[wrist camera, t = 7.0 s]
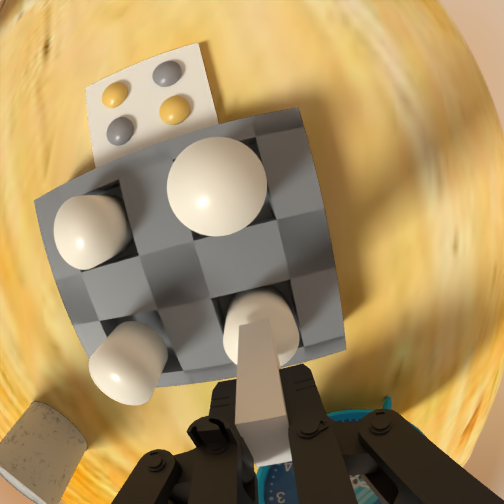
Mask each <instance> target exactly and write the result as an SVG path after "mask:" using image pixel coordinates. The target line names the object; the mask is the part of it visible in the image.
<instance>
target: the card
mask: <svg viewBox="0 0 504 504" xmlns="http://www.w3.org/2000/svg"><path fill="white" fill-rule="evenodd" d="M85 91H86V104H87V114H88V123H89V131H90V138H91V145H92V151H93V157H94V163H95V168H97V167H100V166H102V165H104V164H106V163H109V162H111V161H113V160H116V159H118V158H120V157H123V156H125V155H128V154H130V153H133V152H135V151H138V150H141V149H143V148H146V147H148V146H151V145H154V144H157V143H160V142H162V141H165V140H168V139H171V138H174V137H177V136H180V135H184V134H187V133H190V132H193V131H197V130H200V129H203V128H207V127H211V126H214V125H218V124H219V122H218V118H217V114H216V110H215V106H214V102H213V98H212V94H211V90H210V86H209V82H208V79H207V75H206V71H205V67H204V63H203V59H202V55H201V51H200V47H199V44H198V43H195V44H191V45H188V46H185V47H181V48H178V49H175V50H172V51H169V52H166V53H163V54H160V55H157V56H155V57H152V58H149V59H147V60H144V61H142V62H139V63H137V64H134V65H132V66H130V67H127V68H125V69H123V70H121V71H119V72H116V73H114V74H112V75H110V76H108V77H106V78H104V79H102V80H100V81H98V82H96V83H94V84H92V85H91V86H89V87H87V88H85Z"/></svg>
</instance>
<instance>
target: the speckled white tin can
mask: <svg viewBox="0 0 504 504" xmlns="http://www.w3.org/2000/svg"><path fill="white" fill-rule="evenodd" d="M86 450H87V442H86V440H85V438H84V437H83V435H82V434H81V433H80V431H79V430H78V429H77V428H76V427H75V426H74V425H73V424H72V423H71V422H70V421H69V420H68V419H67V418H65V417H64V416H63V415H62V414H60V413H59V412H58V411H56V410H55V409H53V408H52V407H50V406H48V405H46V404H44V403H41V402H33V403H31V405H30V407H29V408H28V409H27V410H26V411H25V413H24V414H23V415H22V416H21V417H20V419H19V420H18V421H17V422H16V423H15V425H14V426H13V427H12V428H11V430H10V431H9V432H8V433H7V435H6V436H5V437H4V439H3V440H2V441H1V442H0V475H1V476H2V477H3V478H4V479H5V480H6V481H7V482H9V483H10V484H11V485H12V486H13V487H14V488H16V489H17V490H18V491H19V492H20V493H22V494H23V495H24V496H26V497H27V498H29V499H30V500H31V501H33V502H35V503H36V504H59V502H60V500H61V497H62V495H63V493H64V491H65V489H66V487H67V485H68V483H69V481H70V479H71V477H72V475H73V473H74V471H75V469H76V467H77V466H78V464H79V462H80V460H81V458H82V456H83V454H84V452H85V451H86Z"/></svg>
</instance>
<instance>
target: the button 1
mask: <svg viewBox="0 0 504 504" xmlns="http://www.w3.org/2000/svg"><path fill="white" fill-rule="evenodd" d="M54 239H55V243H56V246H57V249H58V251H59V253H60V255H61V256H62V258H63V259H64V260H65V261H66V262H67V263H68V264H69V265H71V266H72V267H74V268H77V269H82V270H86V269H90V268H93V267H95V266H97V265H99V264H101V263H103V262H104V261H106V260H108V259H110V258H112V257H114V256H116V255H118V254H120V253H122V252H123V251H125V250H126V249H127V248H128V246H129V245H130V243H131V241H132V239H133V233H132V230H131V226H130V223H129V219H128V215H127V211H126V207H125V203H124V200H123V199H121V198H120V197H118V196H115V195H85V196H74V197H72V198H70V199H68V200H67V201H65V202H64V203H63V204H62V205H61V207H60V208H59V210H58V212H57V215H56V218H55V222H54Z"/></svg>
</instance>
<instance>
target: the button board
mask: <svg viewBox="0 0 504 504" xmlns="http://www.w3.org/2000/svg"><path fill="white" fill-rule="evenodd" d="M209 137H226V138H231V139H234V140H237V141H239V142H241V143H243V144H245V145H246V146H248V147H249V148H250V149H251V150H252V151H253V152H254V153H255V154H256V155H257V157H258V158H259V160H260V161H261V163H262V165H263V167H264V170H265V173H266V179H267V193H266V198H265V201H264V204H263V206H262V208H261V210H260V212H259V213H258V215H257V216H256V218H255V219H254V220H253V221H252V222H251V223H250V224H249V225H247V226H246V227H245V228H243V229H241V230H240V231H237V232H235V233H233V234H230V235H225V236H207V235H202V234H200V233H197V232H195V231H193V230H191V229H189V228H188V227H186V226H185V225H184V224H183V223H182V222H181V221H180V220H179V219H178V218H177V217H176V215H175V214H174V212H173V210H172V208H171V206H170V203H169V200H168V195H167V180H168V175H169V172H170V169H171V167H172V165H173V163H174V161H175V160H176V158H177V157H178V155H179V154H180V153H181V152H182V151H183V150H184V149H185V148H187V147H188V146H189V145H191V144H193V143H195V142H197V141H199V140H202V139H205V138H209ZM85 195H115V196H118V197H120V198H121V199H123V200H124V203H125V207H126V211H127V215H128V219H129V223H130V226H131V230H132V233H133V239H132V241H131V243H130V245H129V246H128V248H127V249H126V250H125V251H123V252H122V253H120V254H118V255H116V256H114V257H112V258H110V259H108V260H106V261H104V262H103V263H101V264H99V265H97V266H95V267H93V268H90V269H86V270H82V269H77V268H74V267H72V266H71V265H69V264H68V263H67V262H66V261H65V260H64V259H63V258H62V256H61V255H60V253H59V251H58V249H57V246H56V243H55V239H54V222H55V218H56V215H57V212H58V210H59V208H60V207H61V205H62V204H63V203H64V202H65V201H67V200H68V199H70V198H72V197H74V196H85ZM34 203H35V208H36V213H37V218H38V222H39V227H40V231H41V235H42V239H43V243H44V246H45V250H46V254H47V257H48V260H49V264H50V267H51V270H52V273H53V276H54V279H55V282H56V285H57V287H58V290H59V293H60V296H61V298H62V301H63V303H64V306H65V308H66V311H67V313H68V316H69V318H70V320H71V323H72V325H73V327H74V329H75V332H76V334H77V336H78V338H79V340H80V342H81V344H82V346H83V348H84V350H85V352H86V354H87V356H88V358H89V359H90V357H91V355H92V354H93V353H94V352H95V351H96V349H97V348H98V347H99V346H100V345H101V344H102V343H103V342H104V340H105V339H106V338H107V337H108V336H109V335H110V334H111V333H112V331H113V330H114V329H115V328H116V327H117V326H118V325H119V324H121V323H123V322H127V321H136V322H141V323H143V324H146V325H148V326H150V327H151V328H153V329H154V330H155V331H156V332H157V333H158V334H159V335H160V336H161V337H162V339H163V340H164V342H165V344H166V347H167V350H168V359H167V362H166V364H165V366H164V369H163V371H162V373H161V375H160V378H159V380H158V382H157V384H156V387H167V386H177V385H186V384H194V383H202V382H209V381H215V380H222V379H228V378H234V377H237V365H236V364H235V363H234V362H233V361H232V360H231V359H230V358H229V357H228V355H227V354H226V352H225V349H224V346H223V335H224V329H225V323H226V316H227V310H228V306H229V303H230V301H231V299H232V298H233V296H234V295H235V294H236V293H237V292H240V291H245V290H249V289H253V288H257V287H261V286H265V285H267V286H270V287H273V288H275V289H277V290H278V291H280V292H281V293H282V294H283V295H284V296H285V298H286V299H287V302H288V304H289V307H290V309H291V312H292V315H293V317H294V320H295V323H296V325H297V328H298V331H299V345H298V348H297V351H296V353H295V354H294V356H293V357H292V358H291V359H290V360H289V361H288V362H287V363H286V364H284V365H283V366H281V368H282V367H286V366H290V365H294V364H298V363H302V362H306V361H310V360H313V359H317V358H320V357H324V356H327V355H331V354H334V353H337V352H341V351H344V350H346V341H345V332H344V323H343V315H342V307H341V300H340V293H339V286H338V279H337V273H336V267H335V261H334V255H333V250H332V244H331V239H330V233H329V228H328V223H327V218H326V214H325V209H324V204H323V200H322V195H321V191H320V186H319V182H318V178H317V174H316V170H315V166H314V162H313V158H312V154H311V150H310V146H309V143H308V139H307V136H306V132H305V128H304V125H303V121H302V118H301V115H300V111H299V108H292V109H286V110H281V111H275V112H270V113H265V114H260V115H255V116H251V117H246V118H242V119H238V120H234V121H230V122H226V123H222V124H218V125H214V126H211V127H207V128H203V129H200V130H197V131H193V132H190V133H187V134H184V135H180V136H177V137H174V138H171V139H168V140H165V141H162V142H160V143H157V144H154V145H151V146H148V147H146V148H143V149H141V150H138V151H135V152H133V153H130V154H128V155H125V156H123V157H120V158H118V159H116V160H113V161H111V162H109V163H106V164H104V165H102V166H100V167H97V168H95V169H93V170H91V171H89V172H87V173H85V174H83V175H81V176H79V177H77V178H75V179H73V180H71V181H69V182H67V183H65V184H63V185H61V186H59V187H57V188H55V189H54V190H52V191H50V192H48V193H46V194H45V195H43V196H41V197H39V198H38V199H36V200H34ZM156 387H155V388H156Z"/></svg>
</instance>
